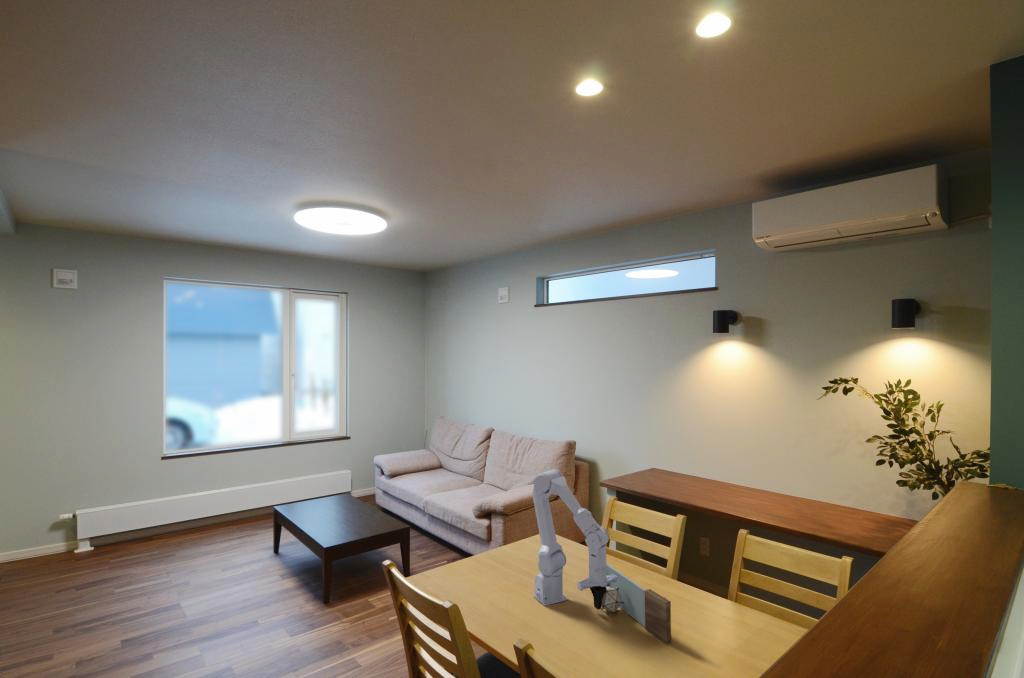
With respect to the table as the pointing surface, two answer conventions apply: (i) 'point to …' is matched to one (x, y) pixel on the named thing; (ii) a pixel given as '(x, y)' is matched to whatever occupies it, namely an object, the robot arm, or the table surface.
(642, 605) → the door
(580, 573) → the table surface
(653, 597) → the wall frame
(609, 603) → the game die
